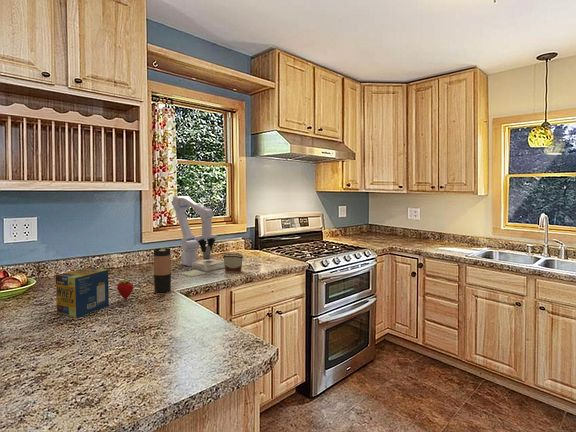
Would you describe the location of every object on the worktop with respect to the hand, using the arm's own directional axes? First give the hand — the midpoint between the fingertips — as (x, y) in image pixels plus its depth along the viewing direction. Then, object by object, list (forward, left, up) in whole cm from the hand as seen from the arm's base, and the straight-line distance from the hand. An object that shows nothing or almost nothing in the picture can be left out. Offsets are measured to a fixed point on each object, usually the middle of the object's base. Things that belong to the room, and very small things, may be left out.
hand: (206, 251), depth 212 cm
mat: (+4, -13, -10) cm, 17 cm away
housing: (-1, +2, -10) cm, 11 cm away
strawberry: (+18, -60, -11) cm, 64 cm away
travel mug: (+20, -43, -11) cm, 49 cm away
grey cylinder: (0, 0, -5) cm, 5 cm away
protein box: (+18, -77, -11) cm, 80 cm away
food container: (+16, +7, -11) cm, 21 cm away
